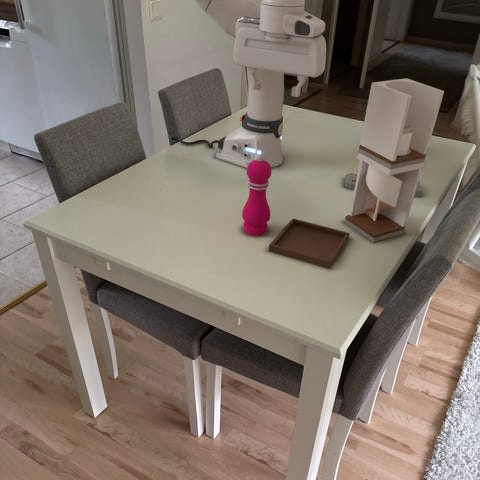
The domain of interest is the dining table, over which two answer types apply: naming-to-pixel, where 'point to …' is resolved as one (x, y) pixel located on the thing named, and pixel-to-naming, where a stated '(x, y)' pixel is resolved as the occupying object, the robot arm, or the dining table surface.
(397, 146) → the two-tier shelf stand
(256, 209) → the pepper mill
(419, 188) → the remote control
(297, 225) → the serving tray
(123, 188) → the dining table surface
